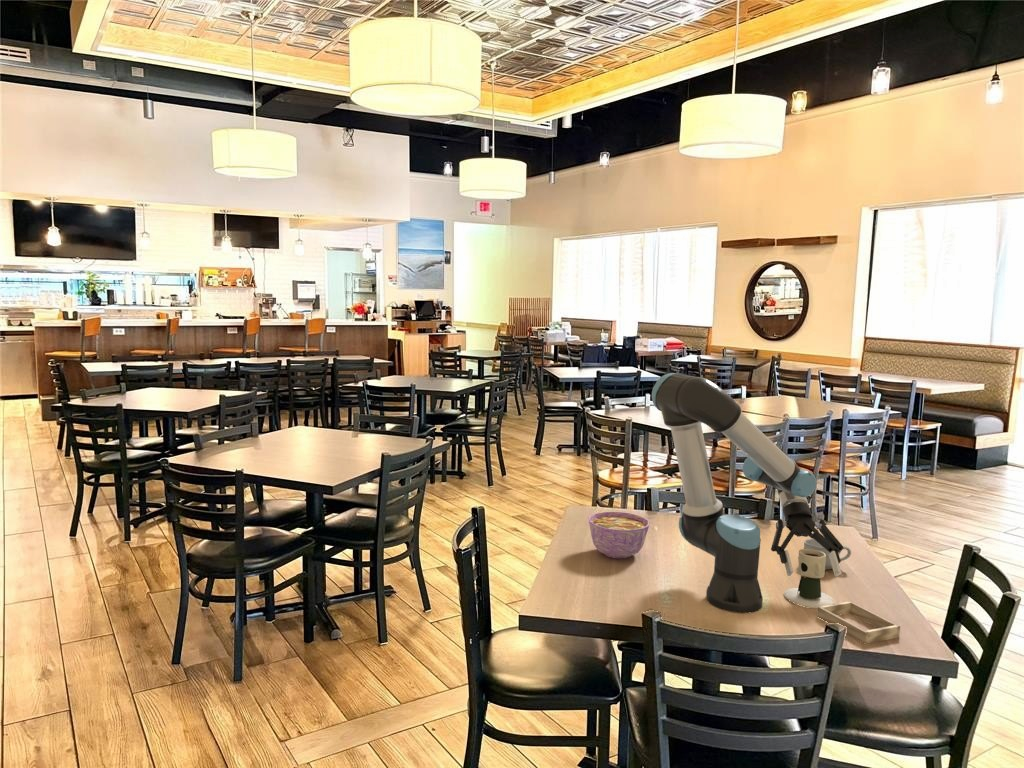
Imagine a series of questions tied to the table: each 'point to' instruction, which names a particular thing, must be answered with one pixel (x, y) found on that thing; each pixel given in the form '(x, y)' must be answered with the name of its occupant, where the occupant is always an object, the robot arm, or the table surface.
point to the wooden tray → (884, 626)
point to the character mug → (811, 572)
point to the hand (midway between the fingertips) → (814, 574)
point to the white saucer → (811, 603)
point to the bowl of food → (618, 533)
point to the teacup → (824, 551)
